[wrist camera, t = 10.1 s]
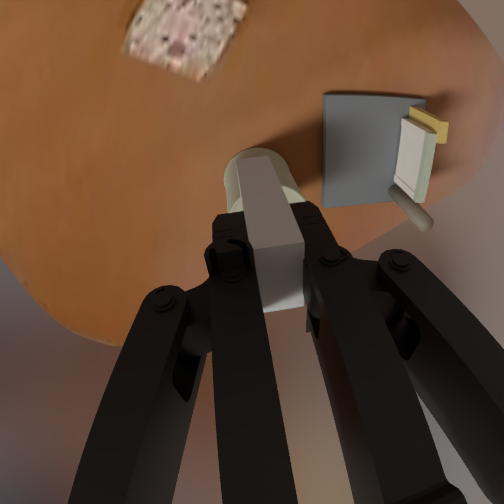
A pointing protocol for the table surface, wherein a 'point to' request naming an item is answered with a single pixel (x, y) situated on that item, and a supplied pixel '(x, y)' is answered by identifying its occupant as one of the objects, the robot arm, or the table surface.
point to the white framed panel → (415, 159)
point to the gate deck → (370, 150)
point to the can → (280, 169)
